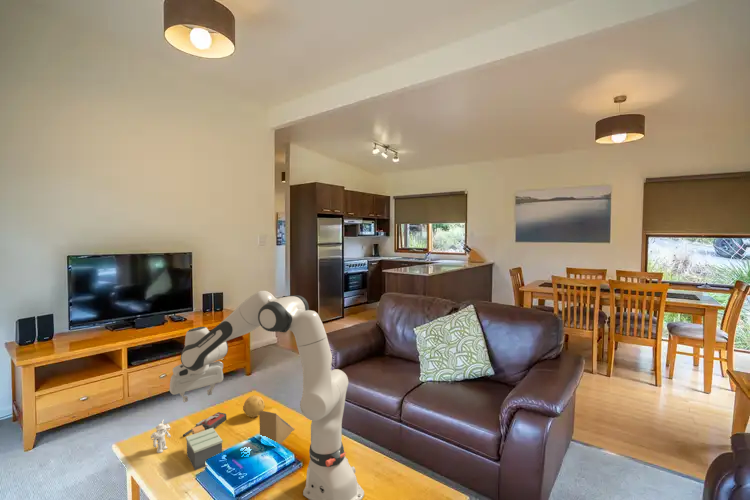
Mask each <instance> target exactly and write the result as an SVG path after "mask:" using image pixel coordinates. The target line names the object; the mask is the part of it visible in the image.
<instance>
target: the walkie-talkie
mask: <svg viewBox="0 0 750 500" xmlns="http://www.w3.org/2000/svg"><path fill="white" fill-rule="evenodd" d="M226 421H227V414H226V413H224V412H220V411H219V412H216V413H214V414H212V415H210V416H208V417H207V418H205V419H202V420H200V421H199V422H196V424H195V426H194V427H197V426H200V425H202V426H203V427H204V428H205V430H207V429H210V428H214V430H215V429H216V428H217V427H219V426H220V425H221V424H223V423H224V422H226ZM190 433H192V428H191V429H189V430H187V432H184V433H183V434H182V436H183V437H187V435H189V434H190Z"/></svg>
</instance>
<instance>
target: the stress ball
mask: <svg viewBox="0 0 750 500" xmlns="http://www.w3.org/2000/svg"><path fill="white" fill-rule="evenodd" d="M265 407H266V406H265V401H264V399H263V397H261V396H259V395H251V396H249V397H248V398H247V399H246V400H245V402H244V404H243V407H242V410H243V412H244V414H245V415H246V416H247V417H248V418H249V417H250V418H257V417H258V416H259V411H264V409H265Z"/></svg>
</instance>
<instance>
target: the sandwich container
mask: <svg viewBox="0 0 750 500" xmlns="http://www.w3.org/2000/svg"><path fill="white" fill-rule="evenodd" d="M258 416H259V436H260V435H262V436H266V437H268V438H270V439H272V440H274V441H276V442H278V443H281V444H282V443H283V442H284V441H285V440H286V439H287V438H288V437H289V436H290V435H291V434H292V433H293V432H294V431H295V428H294V427H293V426H291V425H290V424H289V423H288V422H287V421H285V420H284V419H283V418H281V416H279V415H278V414H277V413H275V412H271V411H264V410H263V411H259V415H258ZM292 431H293V432H292ZM291 432H292V433H291Z"/></svg>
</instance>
